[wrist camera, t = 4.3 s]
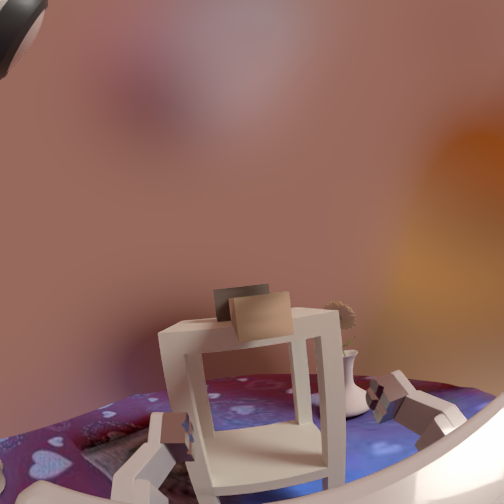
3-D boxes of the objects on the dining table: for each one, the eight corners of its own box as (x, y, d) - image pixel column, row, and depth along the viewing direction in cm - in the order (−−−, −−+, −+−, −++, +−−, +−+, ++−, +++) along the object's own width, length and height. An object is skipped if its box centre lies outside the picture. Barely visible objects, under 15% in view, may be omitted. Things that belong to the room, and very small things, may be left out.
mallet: (210, 345, 14) (203, 280, 14) (217, 319, 32) (214, 290, 32) (319, 329, 14) (312, 267, 15) (267, 313, 32) (263, 285, 33)
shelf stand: (209, 531, 17) (157, 333, 21) (211, 474, 31) (182, 320, 35) (342, 507, 19) (338, 310, 23) (311, 458, 33) (297, 307, 37)
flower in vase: (384, 407, 45) (379, 294, 49) (341, 428, 41) (333, 304, 45) (350, 394, 57) (342, 297, 61) (310, 408, 54) (300, 305, 58)
